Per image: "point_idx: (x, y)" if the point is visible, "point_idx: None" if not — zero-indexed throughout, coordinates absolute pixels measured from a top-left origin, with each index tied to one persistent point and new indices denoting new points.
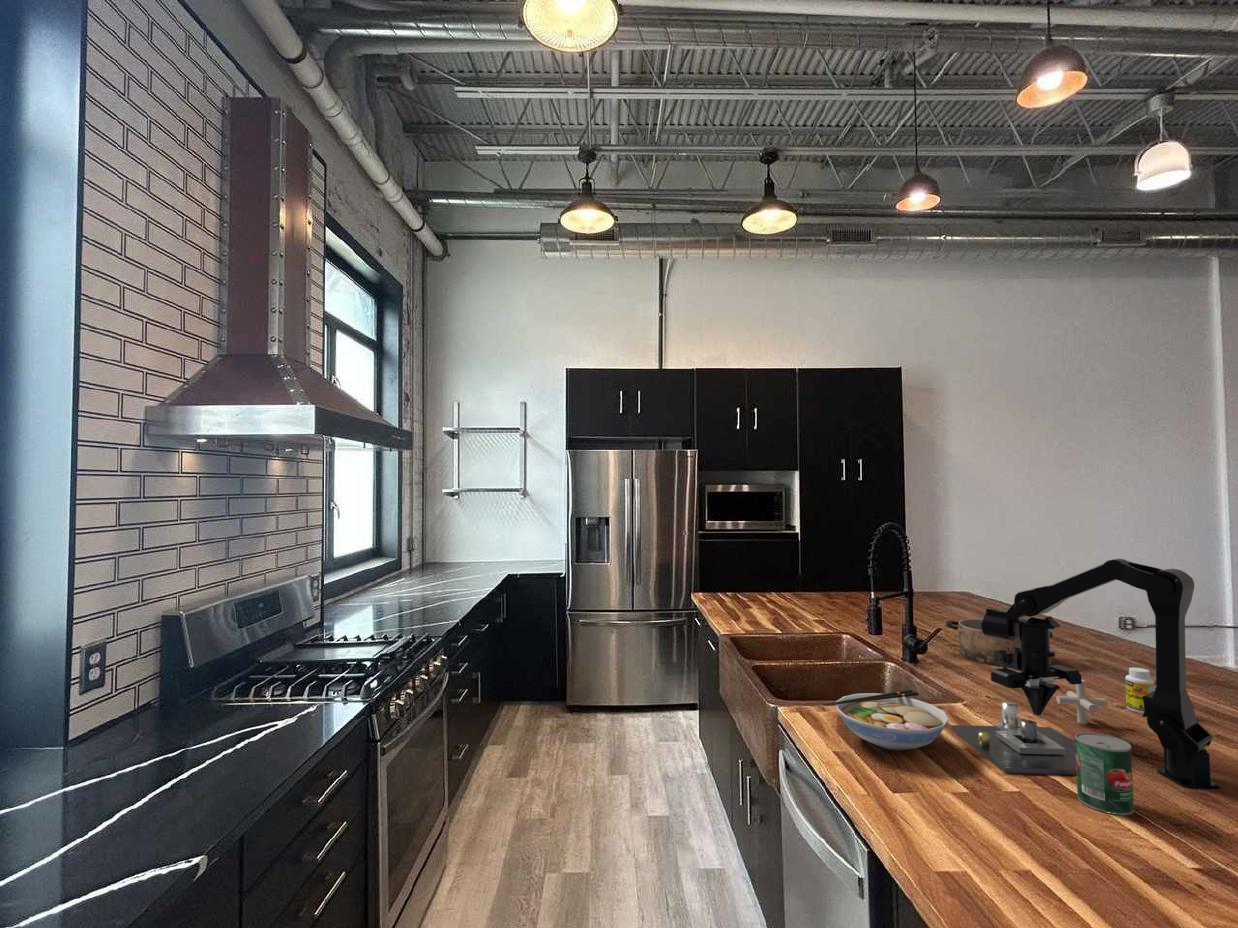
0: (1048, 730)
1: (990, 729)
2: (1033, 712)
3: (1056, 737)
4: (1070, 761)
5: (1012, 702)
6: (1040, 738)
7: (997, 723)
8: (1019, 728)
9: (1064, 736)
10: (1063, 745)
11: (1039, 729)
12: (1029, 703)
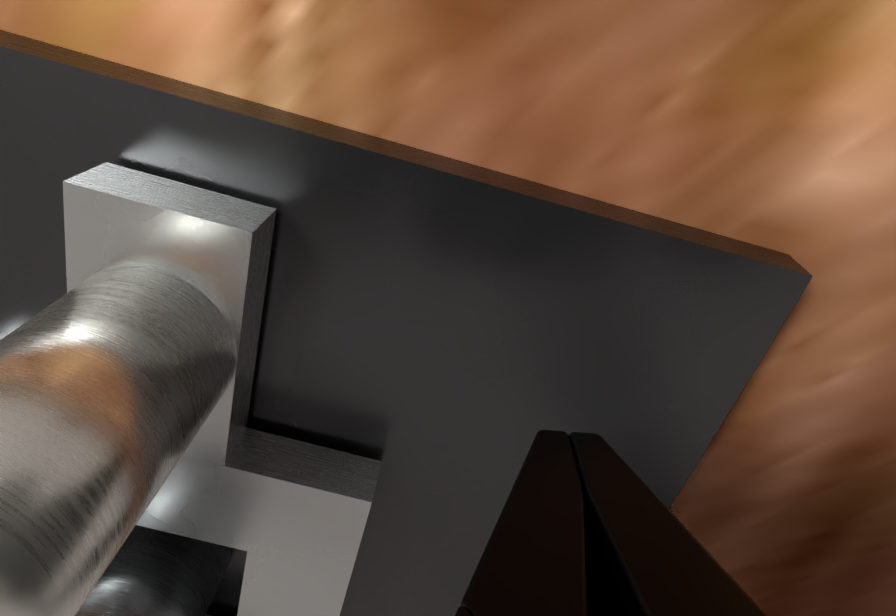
0: (678, 347)
1: (7, 173)
2: (536, 443)
3: None
4: None
5: (7, 574)
6: (261, 602)
7: (71, 191)
8: (229, 405)
9: (670, 487)
10: (462, 594)
11: (605, 303)
12: (495, 532)
